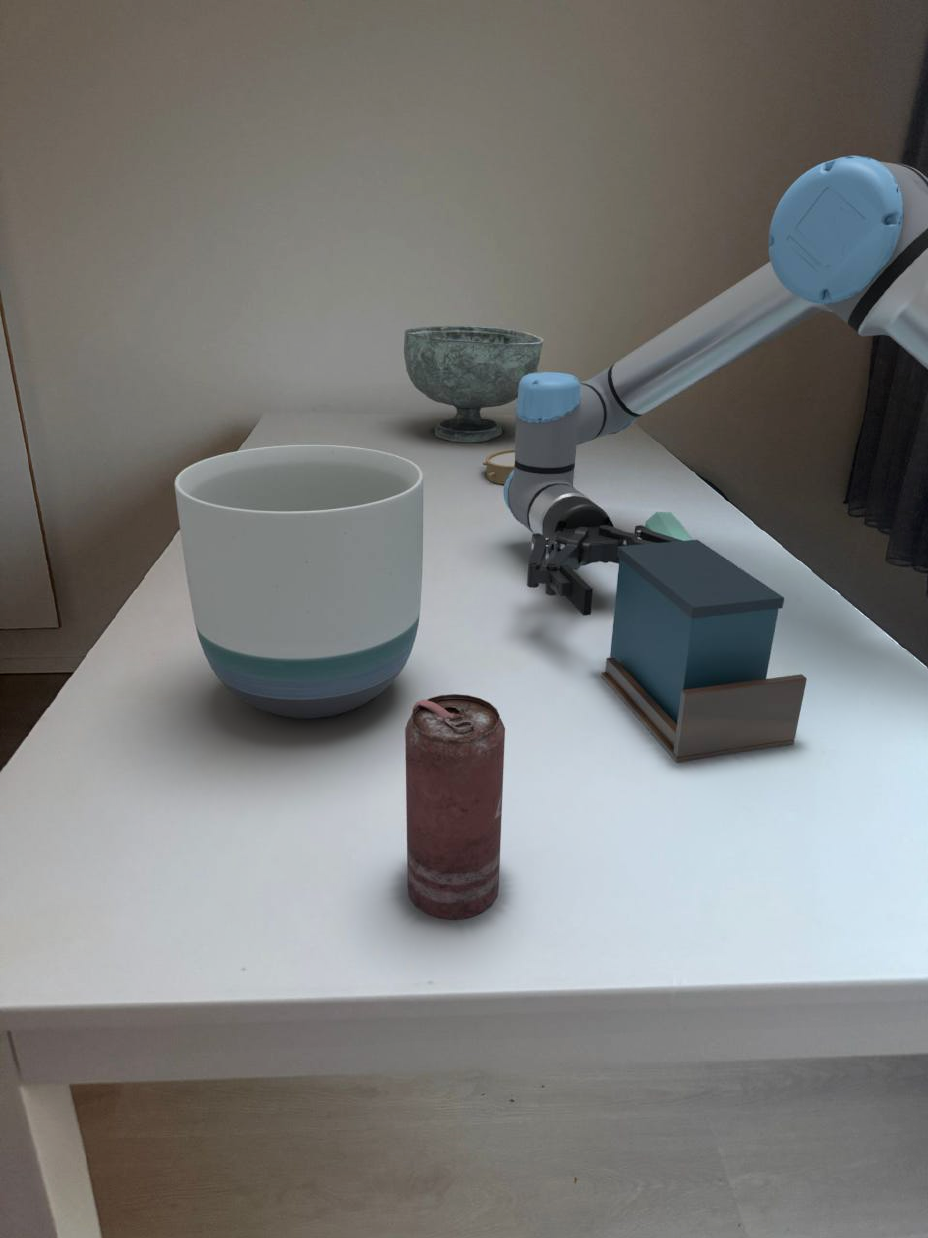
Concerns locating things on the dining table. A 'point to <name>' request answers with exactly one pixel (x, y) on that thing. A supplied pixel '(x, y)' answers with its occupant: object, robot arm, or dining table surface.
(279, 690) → the planter
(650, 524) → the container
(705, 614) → the storage container
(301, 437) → the dining table surface
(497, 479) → the alarm clock
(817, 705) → the dining table surface
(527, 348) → the decorative bowl
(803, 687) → the wooden drawer
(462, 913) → the can
